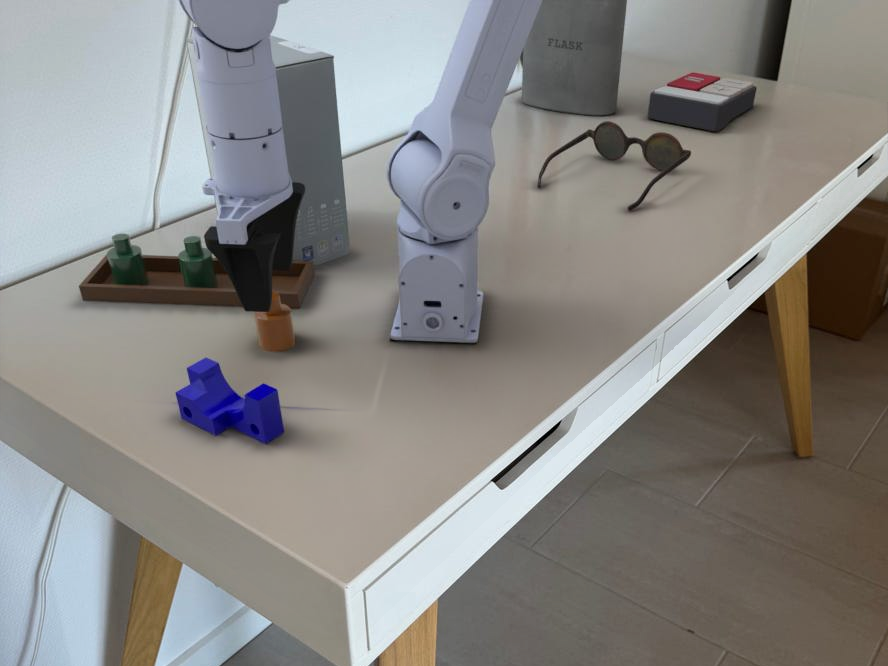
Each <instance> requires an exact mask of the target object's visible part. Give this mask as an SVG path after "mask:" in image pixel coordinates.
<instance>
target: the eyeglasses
mask: <svg viewBox="0 0 888 666" xmlns="http://www.w3.org/2000/svg"><path fill="white" fill-rule="evenodd" d="M588 138H591V139H592V140H593V144H594V147H595V149H596V152H597V153H598V154H599V155H600V156H601V157H602V158H604V159H606V160H609V161H617V160H620V159H622V158H623V157H624V156H625V155H626V153H627V152H628V150H629V148H630V146H632V145H635V144H636V145H639V146H640V147H641V152H642V157H643V159H644V160H645V162H646V163H647V164H648V165H649V166H650V167H651V168H653V169H655V170H657V171H660V172H659V173H658V174H657V175H656V176H655V177H654V178H652V179H651V181H650V182H649V183H648V184H647V186H646V187H645V188H644V190H643V192H642V193H641V195H640V196H639V198H637V200H636V201H635V202H633V203H632V204H629V205H628V206H627V211H628V212H631V211H633V210H634V209H637V208H638V207H639V206H640V205H641V204H642V203H643V201H644V200H645V198H646V197H647V195H648V194H649V192H650V191H651V189H652V188H653V186H655V184H656V183H657V182H659V181H660V180H661V179H663V178H664V177H665V176H666V175H668V174H669V173H670V172H673V170H675V169H676V168H678V167H680V166H681V165H682V164H684V163H685V162H686V161H687V160H688V159H690V158H691V155H692V151H691V150H690V149H684V148H683V147H682V144H681V142H680V141H679V140H678V138H677V137H675V136H674V135H672V134H671V133H669V132H661V131H660V132H659V131H658V132H655V133H652V134H651V135H649V136H648V138H646V139H645V140H643V139H642V138H638V137H635V136H633V137H628V136H627V134H626V133H625V132H624V130H623V128H622V127H621V126H620V125H618V124H617V123H616V122H613V121H609V120H607V121H606V120H605V121H603V122H600V123H599V124H598V125H597V126H596V127H595V128H594V130H593V129H587V130H586V131H585V132H583V133H581V134H579V135H578V136H576V137H575V138H573V139H571V140H570V141H568V142H567V143H566V144H564V145H562V146H561V147H559V148H558V149H556V150H555V151H554V152H552V153H550V154H549V155H548V156H547V158H546V159H545V160H544V162H543V164H542V167H541V168H540V171H539V173H538V177H537V179H538V180H537V188H541V185H542V178H543V175H544V174H545V172H546V169H547V167H548V165H549V163H550V162H551V161H552V160H553V159H555V157H557V156H558V155H560V154H562V153H563V152H564V153H565V152H566V151H567V150H568V149H569V150H570V149H571V148H572V147H574V146H576V145H578V144H579V143H581V142H583V141H584V140H587V139H588Z"/></svg>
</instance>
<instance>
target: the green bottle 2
mask: <svg viewBox="0 0 888 666" xmlns="http://www.w3.org/2000/svg"><path fill="white" fill-rule="evenodd" d="M201 239H202V238H201V237H200V236H199V235H198V236H197V235H189V236H187V237H184V239H183V246H184V249H183V250H182V251H180V252H179V253H178V255H177V256H178V259H179V264H180V268H181V273H182V278H183V282H184V287H193V288H217V287H218V282H217V277H216V271H215V266H214V261H213V258H214V255H213V254H212V253H211V252H210V251H209V250H208V249H207V247H203V243H202V240H201Z"/></svg>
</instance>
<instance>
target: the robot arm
mask: <svg viewBox="0 0 888 666" xmlns="http://www.w3.org/2000/svg"><path fill="white" fill-rule="evenodd" d="M290 1H291V0H178V3H179V5H180V7H181V10H183V12H184V14H185V15H186V16H187V17H188V19H189V20H190V21H191V22H192V23H193V24H194V25H195V26H193V27H192V29H191V30H192V36H193V37H194V40H193V46H194V51H195V54H196V56H197V60H198V61H197V66H196V70H197V76H198V81H199V87H200V93H201V98H202V104H203V110H204V116H205V122H206V127H207V133H208V138H209V144H210V150H211V156H212V161H213V167H214V173H215V178H211V177H210V178H208V179H206V180H205V181H204V182H203V184H202V186H201V187H202V188H201V189H202V193H203V194H204V195H206V196H213V197H214V196H216V200H217V205H218V215H217V216H216V217H215V221H214V222H215V226H213V225H210V226H209V227H208V229H207V230H206V231H205V233H204V235H203V238H204V243H205V248H207V249H208V250H209V251H210V252H211V253H212V255H213V257H214V258H217V260H218V261H219V262H220V263H221V265H222V266H223V268H224V269H225V271H226V273H227V274H228V276H229V278H230V280H231V282H232V284H233V286H234V289H235V291H236V293H237V295H238V298H239V300H240V302H241V304H242V306H243V307H242V308H243V310H244V311H245V312H254V313H255V312H269V310H270V308H271V302H272V270H280V271H290V269H291V265H292V259H293V248H294V236H295V226H296V220H297V215H298V211H299V207H300V204H301V201H302V198H303V196H304V193H305V186H304V185H303V184H302V183H298V182H292V180H291V178H290V175H289V172H288V165H287V156H286V150H285V142H284V133H283V125H282V118H281V110H280V102H279V94H278V86H277V78H276V69H275V64H274V62H273V60H272V52H271V44H270V35H271V34H272V32H273V31H274V28H275V26H276V24H277V19H278V13H279V6H281V5H285V4H288V3H289V2H290ZM541 3H542V0H468V4H467V6H466V9H465V12H464V14H463V17H462V19H461V23H460V26H459V28H458V31H457V34H456V36H455V39H454V42H453V45H452V47H451V50H450V53H449V55H448V59H447V61H446V64H445V67H444V70H443V72H442V75H441V77H440V81H439V82H438V86H437V89H436V92H435V94H434V96H433V100H432V101H431V103H429V104H428V105H427V106H426V107H424V108H423V109H422V110H421V111H420V112H418V113H417V114H416V115H415V116H414V117H413V120H412V123H411V125H410V128H409V130H408V132H407V134H406V135H405V137H404V138H403V139H402V140H400V142H399V143H398V144H397V145H396V146H395V148H394V149H393V150H392V152H391V153H390V155H389V157H388V161H387V166H386V178H387V179H386V180H387V183H388V186H389V188H390V190H391V191H392V193H393V194H394V196H396V197H397V198H398V199H400V208H399V212H398V215H397V218H396V226H397V228H396V229H397V247H398V248H397V249H398V267H399V268H398V269H399V273H398V299H399V302H398V305H397V309H396V312H395V316H394V319H393V323H392V327H391V331H390V339H391V340H395V341H412V342H413V341H416V342H440V343H441V342H443V343H464V344H465V343H467V344H474V343H477V342H478V341H479V334H480V327H481V326H480V325H481V320H482V319H481V318H482V311H483V304H484V303H483V302H484V292H483V291H481V290H478V248H479V247H478V242H479V240H478V237H479V235H478V234H479V231H478V228H479V226H480V225H481V223H482V222H483V221H484V219H485V217H486V215H487V213H488V209H489V205H490V180H491V177H492V174H493V172H494V169H495V167H496V156H495V155H496V154H495V149H494V143H493V142H494V141H493V136H492V128H493V126H494V123H495V121H496V118H497V117H498V114H499V112H500V109H501V106H502V103H503V101H504V99H505V96H506V93H507V92H508V88H509V86H510V83H511V81H512V78H513V75H514V73H515V70H516V69H517V66H518V64H519V60H520V58H521V56H522V54H523V48H524V46H525V43H526V41H527V38H528V36H529V33H530V31H531V28H532V26H533V23H534V21H535V18H536V15H537V13H538V10H539V8H540V5H541Z"/></svg>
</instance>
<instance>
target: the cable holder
mask: <svg viewBox="0 0 888 666" xmlns="http://www.w3.org/2000/svg"><path fill="white" fill-rule="evenodd" d="M186 372H187V376H188V381H189V384H188V385H186V386H184V387H182V388H181V389H179V390H177V391H175V392H174V393H175V398H176V401H177V406H178V409H179V414H180V418H181V419H182V420H183V421H186V422H188V423H190V424H192V425H193V426H196V428H197V427H198V428H200V429H201V430H203V431H205V432H207V433H209V434H212V435H213V436H218V435H219V434H221V433H223V432H224V431H226V430H227V429H229V428H231V429H233V430H236V431H238V432H240V433H242V434H244V435H246V436H248V437H251V438H252V439H254V440H256V441H258V442H260V443H262V444H265V445H267V444H268V443H270V442H271V441H273V440H275V439H276V438H278V437H279V436H280V435H282V434H284V433H285V429H284V422H283V416H282V415H283V414H282V409H281V402H280V397H279V390H278V389H277V388H276V387H273V386H271V385H269V384H266V383H264V382H263V383H261V384H259V385H258V386H257V387H255V388H253V389H251V390H249V391H248V392H247V393H245V394H243V396H244V397H242V396H241V395H239V393H237V392H236V391H235V390H234V389H233V388H232V387H231V385H230V384H229V382H228V381H227V380H226V378H225V376H224V374H223V372H222V370H221V366H220V363H219V362H218V361H216V360H213V359H211V358H208V357H204V358H202V359H201V360H198V361H197V362H195V363H193V364H190V365H189V366H188V367H186Z"/></svg>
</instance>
